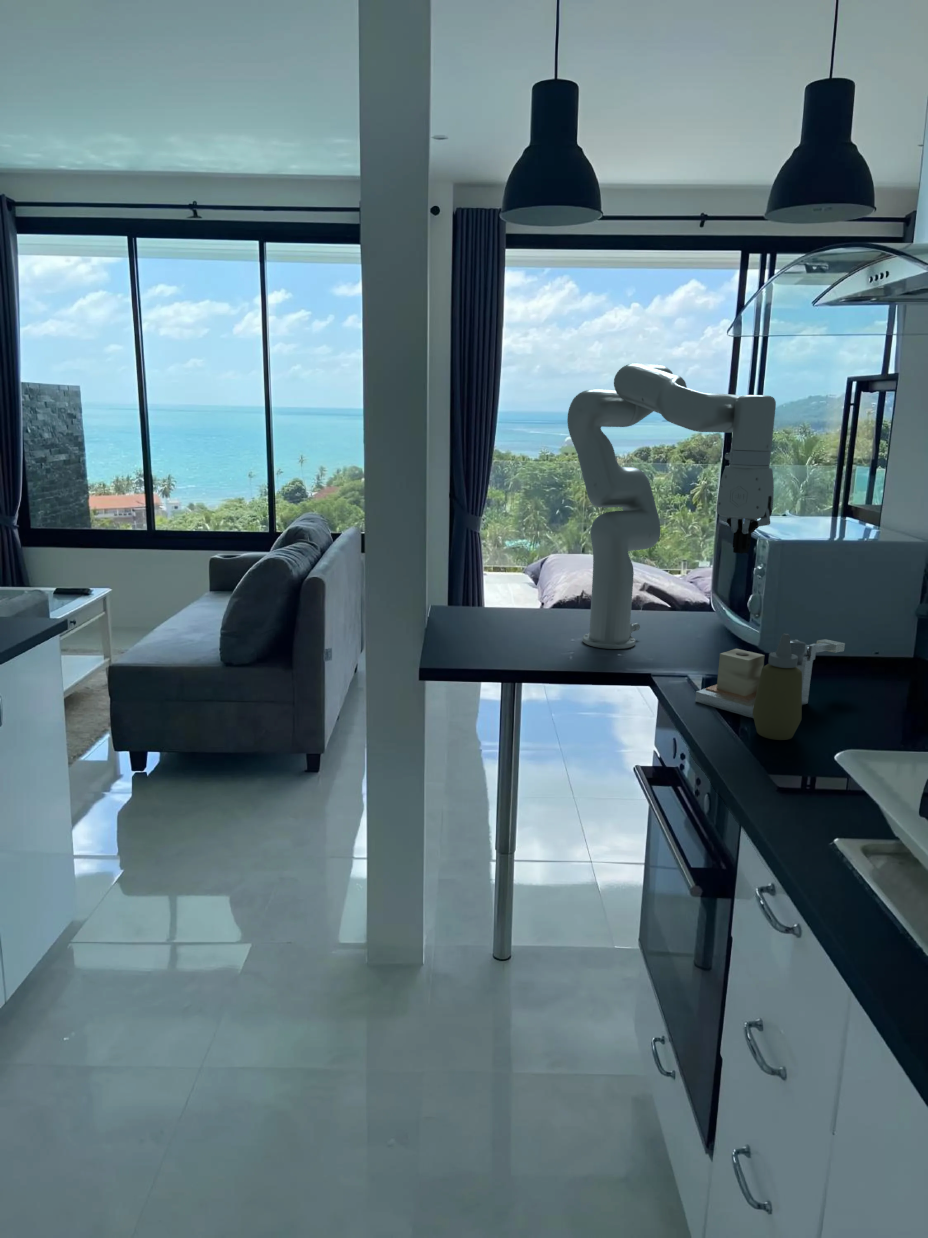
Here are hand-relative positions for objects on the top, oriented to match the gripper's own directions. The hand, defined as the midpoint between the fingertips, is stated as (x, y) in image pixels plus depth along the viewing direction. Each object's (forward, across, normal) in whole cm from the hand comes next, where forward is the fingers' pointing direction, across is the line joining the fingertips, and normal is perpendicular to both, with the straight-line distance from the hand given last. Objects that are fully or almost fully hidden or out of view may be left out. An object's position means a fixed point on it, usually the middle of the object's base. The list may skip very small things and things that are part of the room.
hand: (740, 552), depth 174 cm
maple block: (+25, +8, -10) cm, 28 cm away
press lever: (+19, +16, +1) cm, 25 cm away
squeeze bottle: (+27, +22, -22) cm, 41 cm away
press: (+27, +10, -9) cm, 30 cm away
